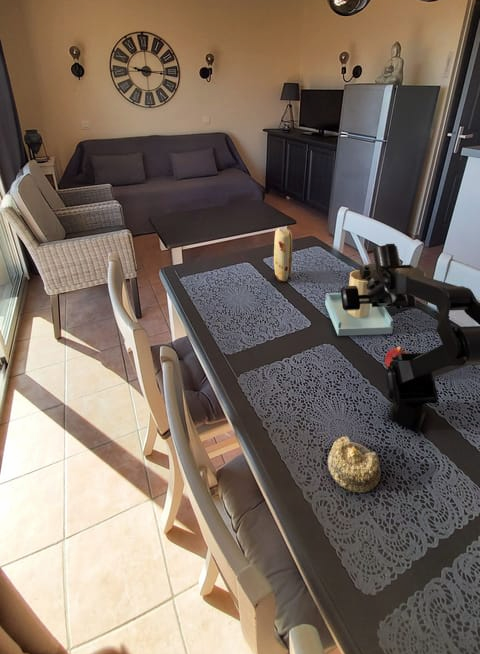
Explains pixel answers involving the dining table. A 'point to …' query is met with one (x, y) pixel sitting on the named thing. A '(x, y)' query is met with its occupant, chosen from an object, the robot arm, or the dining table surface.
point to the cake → (353, 466)
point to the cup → (362, 290)
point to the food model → (283, 254)
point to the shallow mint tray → (357, 319)
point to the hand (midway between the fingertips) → (367, 303)
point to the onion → (392, 355)
